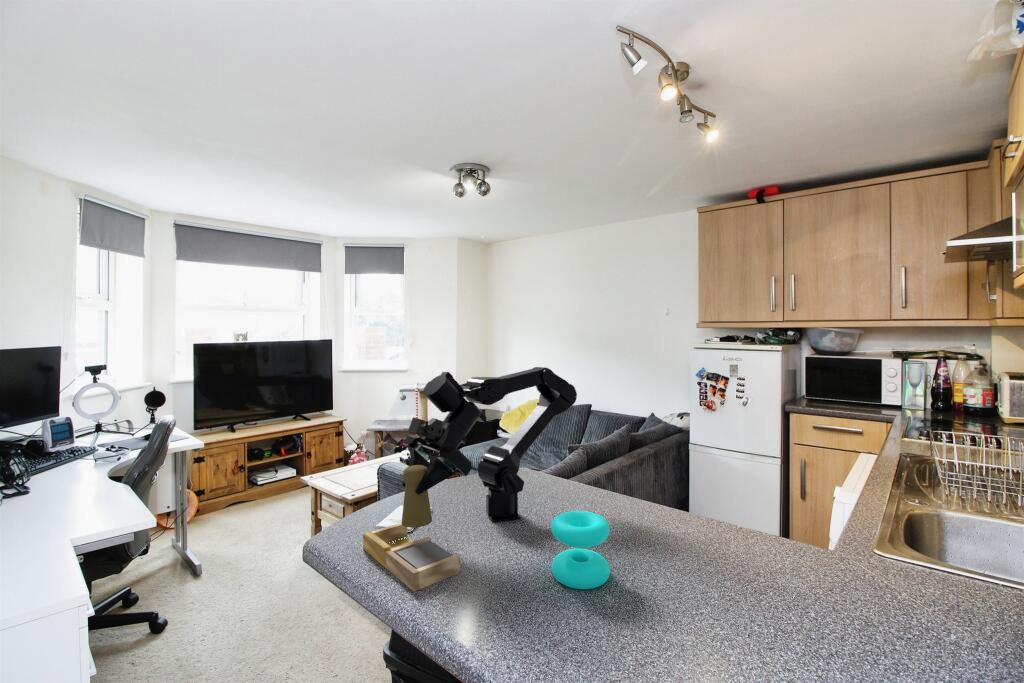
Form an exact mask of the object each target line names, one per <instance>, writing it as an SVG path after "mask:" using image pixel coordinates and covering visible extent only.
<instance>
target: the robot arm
mask: <svg viewBox="0 0 1024 683" xmlns="http://www.w3.org/2000/svg"><path fill="white" fill-rule="evenodd" d="M533 387H535V388H536V390H537V392H539V393H540V394H539V397H538V398H539V399H538V405H537V406H536V407H535V408H534V410H532V412H531V413H530V414H529V415H528V416H527V418H526V419H525V420H524V421H523V422H522V423H521V425H520V426H519V427H518V428H517V430H516V431H514V433H513V434H512V435H511V437H509V439H508V440H507V441H506V443H504V444H503V445H502V446H500V447H499V446H497V445H491V446H490V447H489V448H488V449H487V451H486V453H485V454H483V455H482V456H480V461H479V463H478V466H477V468H478V469H477V475H478V477H479V479H480V480H481V482H482V484H483V487H485V488H487V491H488V492H487V494H486V495H485V509H486V510H485V511H486V515H488V517H489V519H490V520H491V522H501V521H502V522H503V521H510V520H519V519H521V515H520V514H519V505H518V504H519V500H518V499H519V498H518V493H520V492H521V493H522V491H523V489H524V485H525V481H524V480H523V479H522V477H520V475H519V474H518V473H519V471H520V465H521V459H522V458H523V456H524V455H525V454H526V453H527V451H528V450H529V449H530V447H531V446H532V445H533V444H534V442H536V440H537V439H538V437H539V436H541V434H542V433H543V432H544V430H546V428H547V426H548V425H549V424H550V423H551V422H552V421H553V419H554V418H555V417H556V416H558V415H562V414H564V413H565V412H567V411H568V410H569V409H570V408H571V407H572V406H574V405H575V403H576V401H577V396H578V394H577V390H576V388H575V386H574V385H573V384H571V383H569V381H567V379H564V378H563V377H561V376H559V375H557V374H556V373H555V372H554V371H553V370H552V369H550V368H548V367H545V366H544V367H541V366H535V367H532V368H530V369H525V370H522V371H516V372H513V373H510V374H506V375H501V376H472V377H470V378H469V379H467V380H466V382H464V383H462V384H461V383H460V384H459V383H458V381H457V380H456V379H455V377H454V376H453V375H452V374H451V373H450V371H442V372H441V373H440V375H437V376H435V377H434V378H432V380H430V381H428V382H427V383H426V385H425V386H424V387H423V391H422V392H423V394H422V395H423V396H425V397H426V399H428V400H429V401H430V402H431V403H432V404H433V405H434V406H435V407H436V408H437V409H438V410H439V411H440V412H441V413H442V414H443V413H444V414H445V413H447V415H446V416H445V418H444V419H443V420H440V419H437V418H434V417H432V418H431V419H429V420H425V419H421V418H417V417H412V419H411V422H410V424H409V427H408V429H407V433H409V435H407V436H406V437H405V438H404V440H403V441H402V445H404V446H405V447H406V448H408V449H407V450H408V452H409V456H410V461H409V463H408V466H407V467H409V466H413V465H423V466H425V467H427V468H428V469H427V471H426V473H425V474H424V476H423V478H422V479H421V481H420V483H419V484H418V486H417V488H416V490H415V492H416V493H417V494H418V495H420V494H421V493H423V492H425V491H426V490H430V489H431V488H433V487H435V486H436V485H438V484H440V483H442V482H444V481H446V480H448V479H449V478H451V477H455V476H456V472H457V473H458V474H459V475H461V476H463V477H467V476H468V475H469V474H470V472H471V470H472V469H473V468H472V467H473V466H472V461H471V460H470V459H469V458H468V457H467V456H466V455H464V453H462V451H461V450H460V449H458V447H459V446H460V445H461V444H464V445H465V444H467V442H468V441H469V440H468V439H467V437H466V436H467V434H468V433H469V432H470V431H471V429H472V428H473V426H474V425H475V423H476V422H481V423H482V422H483V423H487V422H488V419H487V416H486V409H483V408H479V407H478V406H477V405H476V404H478V405H479V404H480V405H484V406H492V405H494V404H496V403H497V402H499V401H502V400H503V399H504V398H505V397H506V396H507V395H509V394H511V393H515V392H519V391H522V390H526V389H529V388H533ZM455 471H456V472H455ZM401 485H402V487H403V488H405V486H406V484H405V483H404V481H403V480H402V484H401Z"/></svg>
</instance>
